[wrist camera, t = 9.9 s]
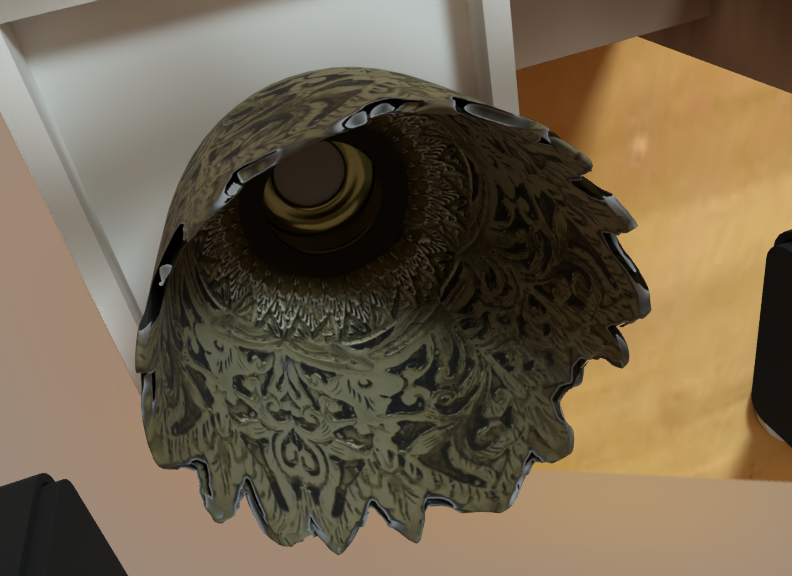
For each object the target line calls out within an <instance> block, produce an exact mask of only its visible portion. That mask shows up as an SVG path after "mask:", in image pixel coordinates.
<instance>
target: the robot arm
mask: <svg viewBox="0 0 792 576" xmlns="http://www.w3.org/2000/svg"><path fill="white" fill-rule="evenodd" d="M751 395H752V403H753V406H754V408H755V411H756V414H757V418H758V421H759V422H760V424H761V425H762V427H763V428H764V429H765V430H766V431H768V432H769V433H770V434H771V435H772V436H773V437H774V438H776V439H778V440H780V441H782V442H786V443H787V444H788V445H789V446H790V447H792V229H791V230H788V231H785V232H783V233H782V234H780V235H779V236H778V237H777V239H776V240H775V243H774V247H772V248H771V249H770V250H769V252H768V254H767V258H766V266H765V275H764V284H763V294H762V303H761V312H760V321H759V330H758V339H757V348H756V357H755V367H754V376H753V385H752V394H751ZM0 576H128V575H127V573H126V572H125V570H124V568H123V567H122V565H121V563H120V562H119V560H118V558H117V557H116V555H115V554H114V552H113V550H112V549H111V547H110V545H109V544H108V542H107V540H106V539H105V537H104V535H103V534H102V532H101V530H100V529H99V527H98V525H97V524H96V522H95V521H94V519H93V517H92V516H91V514H90V512H89V511H88V509H87V507H86V506H85V504H84V502H83V501H82V499H81V498H80V496H79V494H78V492H77V491H76V489H75V488H74V486H73V485H72V483H71V482H70V481H69V480H67V479H63V480H60V481H57V482H55V481H54V480H53V478H52V477H51V476H50V475H48V474H46V473H41V474H38V475H35V476H32V477H29V478H26V479H23V480H20V481H16V482H14V483H10V484H7V485H4V486H1V487H0Z"/></svg>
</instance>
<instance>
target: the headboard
mask: <svg viewBox="0 0 792 576" xmlns="http://www.w3.org/2000/svg"><path fill="white" fill-rule="evenodd" d="M636 36H638V37H640V38H643V39H646V40H649V41H651V42H654V43H657V44H659V45H662V46H665V47H667V48H670V49H673V50H676V51H678V52H681V53H684V54H686V55H689V56H692V57H695V58H697V59H700V60H703V61H705V62H708V63H711V64H713V65H716V66H719V67H722V68H724V69H727V70H730V71H732V72H735V73H738V74H740V75H743V76H746V77H749V78H751V79H754V80H757V81H759V82H762V83H765V84H767V85H770V86H773V87H776V88H778V89H781V90H784V91H786V92H789V93H792V0H0V112H1V114H2V116H3V118H4V120H5V122H6V124H7V126H8V128H9V130H10V132H11V134H12V136H13V138H14V140H15V142H16V144H17V146H18V148H19V150H20V152H21V154H22V156H23V158H24V160H25V162H26V164H27V166H28V169H29V171H30V173H31V175H32V177H33V179H34V181H35V183H36V185H37V187H38V189H39V191H40V193H41V195H42V197H43V199H44V201H45V203H46V205H47V207H48V209H49V211H50V213H51V215H52V217H53V219H54V221H55V223H56V225H57V227H58V229H59V231H60V233H61V235H62V237H63V239H64V241H65V243H66V246H67V248H68V250H69V252H70V254H71V256H72V258H73V260H74V262H75V264H76V266H77V268H78V270H79V272H80V274H81V276H82V278H83V280H84V282H85V284H86V286H87V288H88V290H89V292H90V294H91V296H92V298H93V300H94V302H95V304H96V306H97V308H98V310H99V312H100V314H101V316H102V318H103V320H104V323H105V325H106V327H107V329H108V331H109V333H110V335H111V337H112V339H113V341H114V343H115V345H116V347H117V349H118V351H119V353H120V355H121V357H122V359H123V361H124V363H125V365H126V367H127V369H128V371H129V373H130V375H131V377H132V379H133V381H134V383H135V385H136V387H137V389H138V391H139V393H140V395H141V390H142V388H141V373H138V374H137V373H136V370H135V350H136V339H137V331H138V327H139V324H140V322H141V319H142V317H143V315H144V312H145V308H146V304H147V300H148V295H149V290H150V286H151V281H152V276H153V272H154V267H155V263H156V259H157V254H158V250H159V246H160V242H161V238H162V234H163V230H164V226H165V222H166V218H167V214H168V210H169V207H170V204H171V201H172V198H173V196H174V193H175V191H176V188H177V185H178V183H179V180H180V178H181V176H182V174H183V172H184V170H185V168H186V167H187V165H188V163H189V161H190V159H191V157H192V155H193V154H194V152H195V151H196V149H197V148H198V146H199V145H200V144H201V142H202V141H203V139H204V138H205V137H206V136H207V134H208V133H209V132H210V131H211V130H212V129H213V128H214V127H215V125H216V124H217V123H218V122H219V121H220V120H221V119H222V118H223V117H224V116H226V115H227V114H228V113H229V112H230V111H231V110H232V109H233V108H235V107H236V106H237V105H238V104H240V103H241V102H242V101H244V100H245V99H247V98H248V97H250V96H251V95H252V94H254V93H256V92H258V91H259V90H261V89H263V88H265V87H267V86H269V85H271V84H273V83H275V82H278V81H280V80H283V79H285V78H288V77H291V76H294V75H298V74H301V73H305V72H309V71H314V70H320V69H326V68H334V67H364V68H375V69H382V70H387V71H392V72H398V73H403V74H406V75H410V76H413V77H416V78H419V79H422V80H425V81H429V82H432V83H435V84H438V85H440V86H443V87H446V88H448V89H451V90H454V91H456V92H459V93H462V94H464V95H467V96H469V97H472V98H474V99H477V100H479V101H482V102H484V103H486V104H489V105H491V106H494V107H496V108H498V109H501V110H504V111H507V112H510V113H513V114H516V115H519V103H518V91H517V80H516V70H519V69H522V68H526V67H529V66H533V65H536V64H540V63H544V62H547V61H551V60H554V59H558V58H561V57H565V56H569V55H572V54H576V53H579V52H583V51H586V50H590V49H594V48H597V47H601V46H604V45H608V44H611V43H615V42H619V41H622V40H626V39H629V38H633V37H636ZM519 116H520V115H519ZM343 177H344V163H343V160H342V157H341V155H340V153H339V152H338V150H337V149H336V148H335V147H334V146H333V145H331V144H330V143H328V142H326V141H320V142H316V143H314V144H311V145H309V146H307V147H305V148H303V149H301V150H300V151H298V152H296V153H294V154H293V155H291V156H289V157H288V158H286V159H284V160H283V161H281V162H280V163H278V164H277V165H276V167H275V168H274V179H275V183H276V186H277V188H278V190H279V191H280V193H281V194H282V195H283V196H284V197H285V198H286V199H288V200H289V201H291V202H293V203H296V204H299V205H307V206H309V205H316V204H319V203H322V202H324V201H326V200H328V199H329V198H331V197H332V196H333V195H334V194H335V193H336V192H337V190H338V189H339V187H340V186H341V183H342V181H343Z"/></svg>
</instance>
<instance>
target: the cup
mask: <svg viewBox="0 0 792 576" xmlns="http://www.w3.org/2000/svg"><path fill="white" fill-rule="evenodd" d="M548 130H549V128H548V127H546V126H545V125H543V124H541V123H539V122H536V121H534V120H531V119H528V118H525V117H522V116H519V115H516V114H513V113H510V112H507V111H504V110H501V109H498V108H496V107H494V106H491V105H489V104H486V103H484V102H482V101H479V100H477V99H474V98H472V97H469V96H467V95H464V94H462V93H459V92H456V91H454V90H451V89H448V88H446V87H443V86H440V85H438V84H435V83H432V82H429V81H425V80H422V79H419V78H416V77H413V76H410V75H406V74H403V73H398V72H392V71H387V70H382V69H375V68H364V67H334V68H326V69H320V70H314V71H309V72H305V73H301V74H298V75H294V76H291V77H288V78H285V79H283V80H280V81H278V82H275V83H273V84H271V85H269V86H267V87H265V88H263V89H261V90H259V91H258V92H256V93H254V94H252V95H251V96H250V97H248V98H247V99H245V100H244V101H242V102H241V103H240V104H238V105H237V106H236V107H235V108H233V109H232V110H231V111H230V112H229V113H228V114H227V115H226V116H224V117H223V118H222V119H221V120H220V121H219V122H218V123H217V124H216V125H215V127H214V128H213V129H212V130H211V131H210V132H209V133H208V134H207V136H206V137H205V138H204V139H203V141H202V142H201V144H200V145H199V146H198V148H197V149H196V151H195V152H194V154H193V155H192V157H191V159H190V161H189V163H188V165H187V167H186V168H185V170H184V172H183V174H182V176H181V178H180V180H179V183H178V185H177V188H176V191H175V193H174V196H173V198H172V201H171V204H170V207H169V210H168V214H167V218H166V222H165V226H164V230H163V234H162V238H161V242H160V246H159V250H158V254H157V259H156V263H155V267H154V272H153V276H152V281H151V286H150V290H149V295H148V300H147V304H146V308H145V312H144V315H143V317H142V319H141V322H140V324H139V327H138V331H137V339H136V350H135V370H136V373H137V374H138V373H141V388H142V390H141V409H142V418H143V425H144V429H145V434H146V438H147V443H148V445H149V448H150V451H151V453H152V456H153V459H154V460H155V462H156V463H157V465H158V466H159V467H161V468H163V469H177V470H178V469H179V468H181V467H182V468H188V469H191V470H193V471H197V474H198V478H199V482H200V494H201V497H202V499H203V502H204V507H205V508H206V510H207V511H208V512H209V513H210V515H211V516H212V518H213V520H214V521H215V522H217V523H223V522H225V521H226V520H227V519H229V518H232V517H233V516H235V513H236V511H237V510H238V508H240V506H239V505H240V501H241V500H242V499H243V497H244V495H246V498H247V501H248V504H249V506H250V508H251V510H252V513H253V515H254V516H255V518H256V520H257V522H258V524H259V526H260V528H261V530H262V531H263V532H264V533H265V534H266V535H267V536H268V537H270V538H271V539H272V540H273V541H275V542H276V543H278V544H279V545H282V546H289V547H292V546H293V545H294V544H296V543H298V542H302V541H304V539H305V538H306V537H307V536H309V535H311V534H312V536H313V537H316V536H318V537H319V538H320V539H321V540H322V541H323V542H324V543H325V544H326V545H327V547H328V548H329V549H330V550H331V551H333V552H335V553H336V554H337V555H340V554H342V553H343V552H344V551H345V549H346V548H347V547H348V546H349V545H350V543H351V542H352V541H353V539H354V537H355V535H356V533H357V532H358V529H359V527H363V526H364V525H365V523H366V519H367V516H368V514H369V512H367V511H368V509H369V508H370V507H372V508H374V509H375V510H376V512H377V513H378V514H379V515H380V516H382V517H383V519H384V520H385V522H386V523H387V525H388V526H389V527H391V528H394V529H395V530H397V531H398V532H400V533H401V534H402V535H403V536H404V537H406V538H407V539H408V540H410V541H412V542H414V543H418V542H419V541H420V540H421V536H422V531H423V527H424V521H425V510H426V509H428V507H429V506H446V507H450V508H453V509H454V510H456V511H457V512H459V513H471V512H494V513H502V512H504V511H505V510H507V509H508V508H510V507H511V506H512V504H513V503H514V501H515V500H516V498H517V496H518V493H519V491H520V488H521V486H522V483H523V481H524V479H525V476H526V475H528V474H529V472H530V470H531V467H532V466H533V464H534V463H535V462H541V463H544V462H548V463H554V462H557V461H559V460H561V459H563V458H564V457H566V456H567V455H569V454H571V453H572V451H573V447H574V432H573V429H572V427H571V426H570V425H568V423H567V422H566V420H565V419H564V415H563V412H562V409H561V406H560V402H559V400H560V401H561V399H562V398H563V396H564V395H565V394H566V392H568V390H569V389H571V388H573V387H575V386H578V385H580V384H581V383H582V380H583V374H584V367H585V366H586V364H587V363H588V362H587V363H586V364H585V365H584V363H585V362H586V361H587V360H591V359H595V360H599V359H600V358H603V359H606V360H607V361H608V362H610V363H611V364H612V365H614V366H616V367H618V368H624V367H625V366H626V365H627V363H628V362H629V351H628V346H627V344H626V341H625V339H624V337H623V336H622V334H621V333H620V331H619V329H618V328H617V327H616V326H617V325H620V324H622V323H625V324H623V325H621V326H619V327H624V326H625V325H627V324H629V323H630V324H631V323H633V322H635V321H636V320H637V319H643V318H645V317H646V316H647V315H648V314H649V313H650V311H651V304H650V294H649V289H648V286H647V284H646V282H645V280H644V278H643V277H642V275H641V273H640V271H639V269H638V268H637V266H636V265H635V263H634V262H633V261H632V259H631V258H630V257H629V256H628V255H627V253H626V252H625V251H624V249H623V248H622V246H621V244H620V243H619V241H618V239H617V237H616V235H620V234H621V233H628V232H630V231H631V230H633V229H634V228H636V227H637V226H638V225H637V223H636V221H635V220H634V219H633V217H632V216H631V215H630V214H629V212H628V211H627V210H626V209H625V208H624V207H623V206H622V205H621V204H620V202H619V201H618V200H617V199H616V198H615V197H614V195H613V194H612V193H609V192H607V191H604V190H602V189H601V188H599V187H597V186H596V185H595V184H593V183H592V182H591V181H589V180H588V179H586V178H585V177H583V176H582V175H583V174H586V173H588V172H590V171H592V170H591V169H592V167H593V165H592V162H591V160H590V159H589V158H588V157H587V156H586V155H585V154H584V153H582V152H581V151H579V150H578V149H576V148H575V147H573V146H571V145H570V144H568V143H566V142H565V141H563V140H562V139H561V138H559V137H558V136H557V135H556V134H555V133H554V132H549V131H548ZM320 141H326V142H328V143H330V144H331V145H333V146H334V147H335V148H336V149H337V150H338V152H339V153H340V155H341V157H342V160H343V163H344V177H343V181H342V183H341V186H340V187H339V189H338V190H337V192H336V193H335V194H334V195H333V196H332V197H331V198H329V199H328V200H326V201H324V202H322V203H319V204H316V205H309V206H307V205H299V204H296V203H293V202H291V201H289V200H288V199H286V198H285V197H284V196H283V195H282V194H281V193H280V191H279V190H278V188H277V186H276V183H275V179H274V168H275V167H276V165H277V164H278V163H280V162H281V161H283V160H284V159H286V158H288V157H289V156H291V155H293V154H294V153H296V152H298V151H300V150H301V149H303V148H305V147H307V146H309V145H311V144H314V143H316V142H320ZM627 322H628V323H627ZM583 365H584V366H583ZM582 366H583V367H582ZM581 367H582V368H581ZM560 398H561V399H560ZM241 487H242V488H243V489H241ZM244 493H245V494H244Z"/></svg>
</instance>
